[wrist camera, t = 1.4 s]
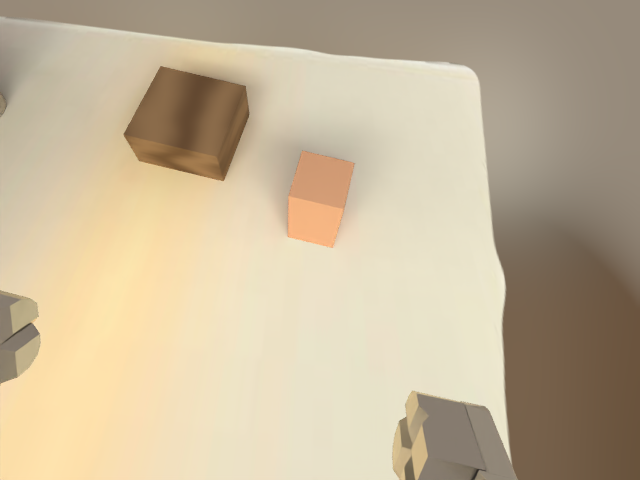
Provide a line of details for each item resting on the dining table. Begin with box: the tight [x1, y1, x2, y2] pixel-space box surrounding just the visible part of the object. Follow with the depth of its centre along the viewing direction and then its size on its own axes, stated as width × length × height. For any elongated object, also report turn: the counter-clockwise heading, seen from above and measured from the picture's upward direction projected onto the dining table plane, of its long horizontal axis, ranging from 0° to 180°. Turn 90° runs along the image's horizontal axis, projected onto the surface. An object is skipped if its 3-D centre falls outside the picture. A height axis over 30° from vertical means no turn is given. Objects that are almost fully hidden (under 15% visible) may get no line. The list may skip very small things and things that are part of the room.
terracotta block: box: [288, 151, 354, 248], centre depth 39 cm, size 5×5×9 cm
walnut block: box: [124, 66, 249, 181], centre depth 44 cm, size 10×10×5 cm
